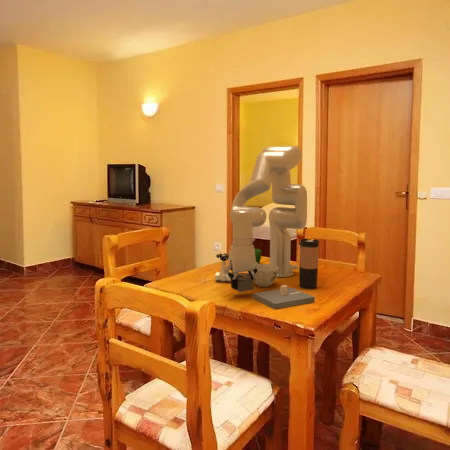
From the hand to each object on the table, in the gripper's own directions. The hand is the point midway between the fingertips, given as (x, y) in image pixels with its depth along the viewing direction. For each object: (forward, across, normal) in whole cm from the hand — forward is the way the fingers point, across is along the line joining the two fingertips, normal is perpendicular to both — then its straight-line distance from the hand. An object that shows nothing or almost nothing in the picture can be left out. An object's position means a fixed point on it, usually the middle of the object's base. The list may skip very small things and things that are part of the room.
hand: (242, 286), depth 159 cm
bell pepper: (+5, -33, -44) cm, 56 cm away
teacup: (+4, -15, -8) cm, 18 cm away
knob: (+1, 0, 0) cm, 1 cm away
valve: (+4, -3, -22) cm, 22 cm away
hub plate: (+4, -11, +12) cm, 17 cm away
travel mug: (+5, -31, +2) cm, 32 cm away
